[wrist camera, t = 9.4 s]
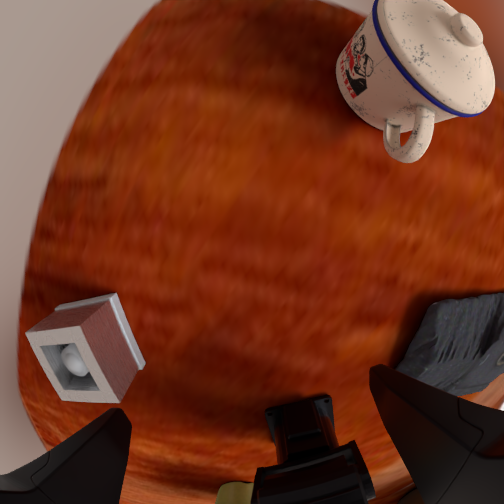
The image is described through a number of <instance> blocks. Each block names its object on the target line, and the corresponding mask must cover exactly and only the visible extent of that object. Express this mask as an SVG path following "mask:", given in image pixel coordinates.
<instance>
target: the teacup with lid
mask: <svg viewBox="0 0 504 504" xmlns="http://www.w3.org/2000/svg"><path fill="white" fill-rule="evenodd" d="M482 42H483V36H482V33H481V30H480V29H479V27H478V26H477V24H476V23H475V22H474V21H473V20H472V19H471V18H470V17H468V16H467V15H465V14H461V13H458V12H457V11H456V10H455V9H454V8H452V7H451V6H450V5H449V4H447V3H446V2H444V1H443V0H375V1H374V5H373V8H372V11H371V13H370V14H369V15H368V17H367V18H366V19H365V21H364V22H363V23H362V25H361V26H360V27H359V29H358V30H357V31H356V33H355V34H354V35H353V37H352V38H351V40H350V41H349V42H348V44H347V45H346V46H345V48H344V49H343V51H342V52H341V54H340V55H339V58H338V60H337V64H336V77H337V82H338V86H339V88H340V91H341V93H342V95H343V97H344V99H345V100H346V102H347V103H348V105H349V106H350V107H351V108H352V110H353V111H354V112H355V113H356V114H357V115H358V116H359V117H360V118H362V119H363V120H364V121H366V122H367V123H369V124H370V125H372V126H374V127H376V128H378V129H381V130H383V131H384V132H383V140H384V146H385V149H386V151H387V153H388V154H389V155H390V156H391V157H392V158H394V159H396V160H398V161H400V162H404V163H411V162H414V161H416V160H418V159H419V158H420V157H421V156H422V155H423V154H424V153H425V151H426V149H427V148H428V146H429V144H430V141H431V138H432V134H433V128H434V123H436V122H440V121H443V120H447V119H450V118H454V117H457V116H460V117H473V116H477V115H479V114H480V113H482V112H483V111H484V110H485V109H486V108H487V107H488V106H489V104H490V102H491V100H492V98H493V95H494V89H495V79H494V73H493V67H492V64H491V61H490V58H489V56H488V53H487V51H486V49H485V47H484V45H483V43H482ZM410 130H413V131H412V133H411V136H410V138H409V140H408V141H407V143H406V144H405V145H404V146H403V147H401V146H400V133H402V132H407V131H410Z"/></svg>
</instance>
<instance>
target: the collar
mask: <svg viewBox="0 0 504 504" xmlns="http://www.w3.org/2000/svg"><path fill="white" fill-rule="evenodd" d="M25 334H26V336H27V338H28V340H29V342H30V344H31V346H32V349H33V351H34V353H35V354H36V356H37V358H38V360H39V362H40V364H41V366H42V368H43V370H44V371H45V373H46V375H47V377H48V378H49V380H50V382H51V383H52V385H53V387H54V388H55V390H56V392H57V393H58V395H59V396H60V398H61V400H64V401H77V402H96V403H120V402H121V400H122V398H123V397H124V395H125V393H126V391H127V389H128V387H129V386H130V384H131V382H132V380H133V378H134V377H135V375H136V373H137V371H138V370H139V368H140V366H139V364H138V362H137V360H136V358H135V356H134V354H133V352H132V349H131V347H130V345H129V343H128V341H127V338H126V336H125V334H124V331H123V329H122V327H121V324H120V322H119V319H118V317H117V314H116V312H115V309H114V306H113V304H112V301H111V299H107V300H102V301H98V302H93V303H88V304H83V305H78V306H73V307H68V308H63V309H58V310H56V311H54V312H53V313H51V314H50V315H49V316H47V317H46V318H45V319H43V320H42V321H40V322H39V323H38V324H36V325H35V326H34V327H32V328H31V329H30V330H28V331H27V332H26V333H25ZM70 343H75V344H76V346H77V348H78V350H79V352H80V354H81V356H82V358H83V360H84V362H85V364H86V366H87V368H88V370H89V372H88V373H87V374H86V375H85V376H77V375H75V374H73V373H72V372H70V371H69V370H68V369H67V367H66V366H65V365H64V363H63V361H62V357H61V354H62V351H63V350H64V349H65V348H66V347H67V346H68V345H69V344H70Z"/></svg>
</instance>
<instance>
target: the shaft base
mask: <svg viewBox="0 0 504 504" xmlns="http://www.w3.org/2000/svg"><path fill="white" fill-rule="evenodd" d="M107 299H111V301H112V304H113V306H114V309H115V312H116V314H117V317H118V319H119V322H120V324H121V327H122V329H123V331H124V334H125V336H126V338H127V341H128V343H129V345H130V347H131V349H132V352H133V354H134V356H135V358H136V360H137V362H138V364H139V366H140V368H139V370H142V369H143V367H144V366H145V364H146V363H145V361H144V359H143V356H142V354H141V352H140V350H139V348H138V345H137V343H136V341H135V338H134V336H133V334H132V331H131V329H130V327H129V324H128V322H127V319H126V317H125V314H124V311H123V309H122V306H121V304H120V301H119V298H118V295H117V293H113V294H109V295H104V296H99V297H95V298H90V299H85V300H80V301H76V302H71V303H66V304H61V305H59V306H58V307H56V308H55V311H56V310H58V309H63V308H68V307H73V306H78V305H83V304H88V303H93V302H98V301H102V300H107ZM61 357H62V361H63V363H64V365H65V366H66V367H67V369H68V370H69V371H70V372H72V373H73V374H75V375H77V376H85V375H86V374H87V373H88V372H89V370H88V368H87V366H86V364H85V362H84V360H83V358H82V356H81V354H80V352H79V350H78V348H77V346H76V344H75V343H70V344H69V345H68V346H67V347H66V348H65V349H64V350H63V351H62V354H61Z"/></svg>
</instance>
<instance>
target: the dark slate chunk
mask: <svg viewBox="0 0 504 504" xmlns="http://www.w3.org/2000/svg"><path fill="white" fill-rule="evenodd" d="M395 370H396V371H399V372H401V373H403V374H405V375H408V376H410V377H412V378H415V379H417V380H419V381H421V382H424V383H426V384H428V385H431V386H433V387H436V388H438V389H440V390H443V391H445V392H448V393H450V394H452V395H455V396H462V395H466V394H472V393H475V392H480V391H482V390H483V389H485V388H486V387H487V386H488V385H489V383H490V382H492V381H493V380H494V379H496V378H497V377H498V376H499V375H500V374H502V373H504V293H498V294H495V293H494V294H491V295H480V296H477V297H469V298H464V299H458V300H455V299H446V300H442V301H439V302H436V303H433V304H432V305H430V306H429V307H428V309H427V312H426V314H425V316H424V319H423V321H422V323H421V325H420V327H419V329H418V330H417V332H416V334H415V337H414V339H413V340H412V342H411V343H410V345H409V348H408V350H407V352H406V354H405V357H404V359H403V360H402V361H401V362H400V363H399V364H398V366H397V368H396V369H395Z"/></svg>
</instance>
